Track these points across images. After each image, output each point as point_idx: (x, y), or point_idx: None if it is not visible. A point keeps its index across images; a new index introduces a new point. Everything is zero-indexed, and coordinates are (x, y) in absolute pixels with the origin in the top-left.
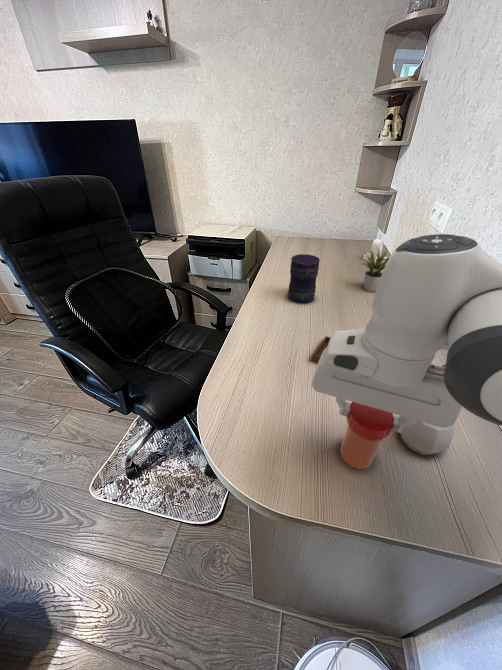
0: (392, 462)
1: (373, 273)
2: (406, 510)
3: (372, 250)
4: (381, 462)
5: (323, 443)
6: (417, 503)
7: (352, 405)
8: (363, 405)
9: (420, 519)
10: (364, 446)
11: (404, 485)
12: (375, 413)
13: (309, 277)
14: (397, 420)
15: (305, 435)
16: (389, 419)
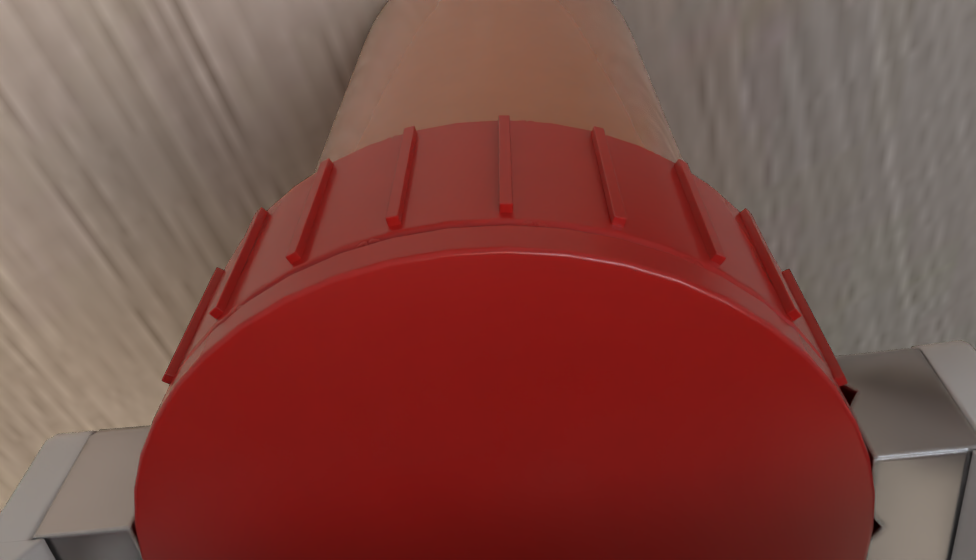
0: (817, 8)
1: None
2: (886, 326)
3: None
4: (720, 59)
5: (214, 132)
6: (970, 252)
7: (175, 554)
8: (336, 481)
9: (967, 336)
10: None
11: (897, 168)
12: (565, 544)
13: None
14: (931, 516)
15: (40, 136)
16: (797, 544)
